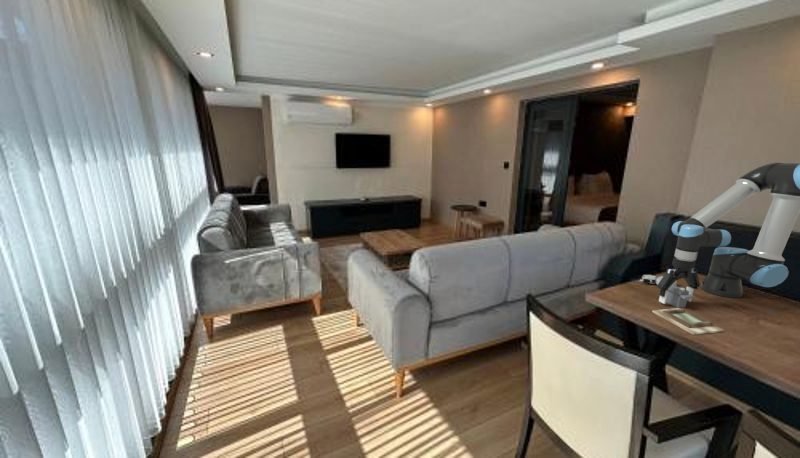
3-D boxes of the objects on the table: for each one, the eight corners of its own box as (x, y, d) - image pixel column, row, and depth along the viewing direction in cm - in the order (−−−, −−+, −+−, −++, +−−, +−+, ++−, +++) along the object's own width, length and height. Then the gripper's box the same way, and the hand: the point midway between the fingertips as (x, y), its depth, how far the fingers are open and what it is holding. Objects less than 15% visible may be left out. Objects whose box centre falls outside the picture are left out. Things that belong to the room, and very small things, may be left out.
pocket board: (679, 309, 144) (680, 304, 143) (723, 331, 126) (725, 326, 126) (652, 312, 142) (653, 307, 141) (693, 334, 124) (694, 329, 124)
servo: (666, 298, 154) (670, 281, 152) (689, 309, 144) (694, 291, 142) (659, 299, 154) (663, 281, 152) (682, 310, 143) (686, 291, 141)
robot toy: (638, 285, 171) (674, 292, 160) (638, 277, 170) (675, 284, 159) (642, 279, 179) (677, 285, 168) (643, 271, 178) (678, 277, 167)
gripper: (699, 254, 148) (689, 295, 154) (652, 257, 145) (644, 299, 150) (717, 260, 141) (706, 303, 147) (668, 263, 138) (658, 307, 143)
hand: (674, 301), depth 148 cm, fingers open, 13 cm apart
